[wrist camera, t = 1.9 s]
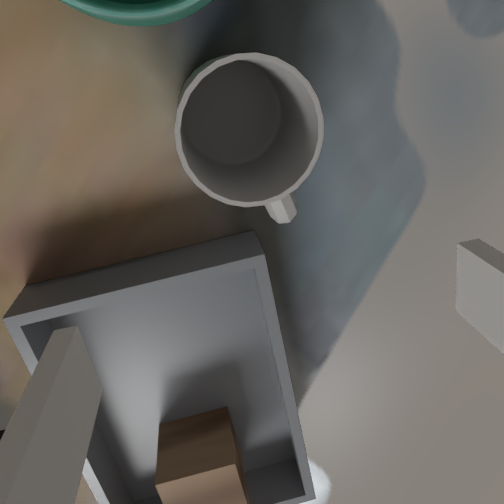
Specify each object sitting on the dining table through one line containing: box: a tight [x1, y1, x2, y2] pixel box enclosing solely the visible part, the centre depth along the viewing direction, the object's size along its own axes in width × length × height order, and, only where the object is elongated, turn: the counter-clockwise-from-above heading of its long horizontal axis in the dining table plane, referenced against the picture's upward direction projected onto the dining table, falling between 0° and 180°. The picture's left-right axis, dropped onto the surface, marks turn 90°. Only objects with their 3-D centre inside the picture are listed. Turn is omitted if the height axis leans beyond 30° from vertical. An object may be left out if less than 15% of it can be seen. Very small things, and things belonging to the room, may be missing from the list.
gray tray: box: [2, 230, 316, 504], centre depth 35 cm, size 24×17×4 cm
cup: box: [174, 52, 323, 224], centre depth 26 cm, size 7×10×9 cm
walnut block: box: [155, 406, 249, 504], centre depth 36 cm, size 6×6×6 cm
